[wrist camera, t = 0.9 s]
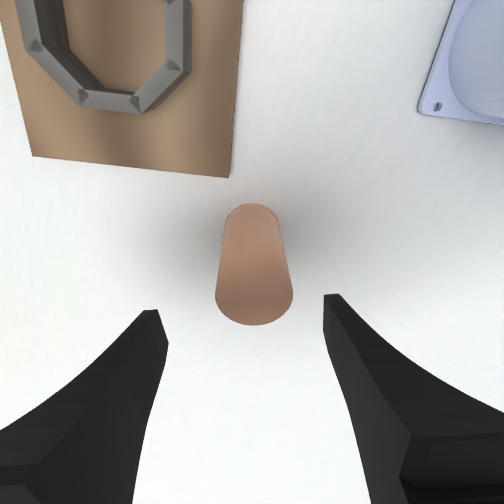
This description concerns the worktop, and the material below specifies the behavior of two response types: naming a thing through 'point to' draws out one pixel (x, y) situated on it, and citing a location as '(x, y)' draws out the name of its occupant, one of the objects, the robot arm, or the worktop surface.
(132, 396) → the robot arm
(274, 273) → the peg
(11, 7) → the holder
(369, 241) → the worktop surface
